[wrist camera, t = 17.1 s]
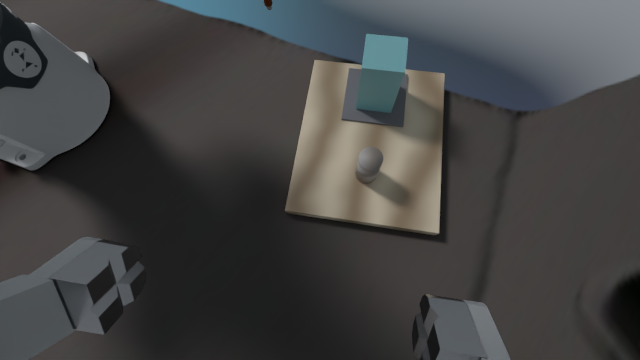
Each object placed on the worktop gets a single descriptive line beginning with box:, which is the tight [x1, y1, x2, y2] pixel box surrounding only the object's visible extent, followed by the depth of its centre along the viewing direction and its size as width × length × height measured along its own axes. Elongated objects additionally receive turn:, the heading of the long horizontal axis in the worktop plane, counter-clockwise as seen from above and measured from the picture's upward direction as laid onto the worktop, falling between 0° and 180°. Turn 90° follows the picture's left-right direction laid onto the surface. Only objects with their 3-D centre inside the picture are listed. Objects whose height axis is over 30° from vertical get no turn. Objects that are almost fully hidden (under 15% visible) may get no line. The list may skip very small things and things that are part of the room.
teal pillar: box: [356, 34, 408, 113], centre depth 36 cm, size 5×5×8 cm
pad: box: [341, 68, 408, 127], centre depth 40 cm, size 8×8×1 cm
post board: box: [285, 60, 445, 235], centre depth 37 cm, size 18×22×6 cm
